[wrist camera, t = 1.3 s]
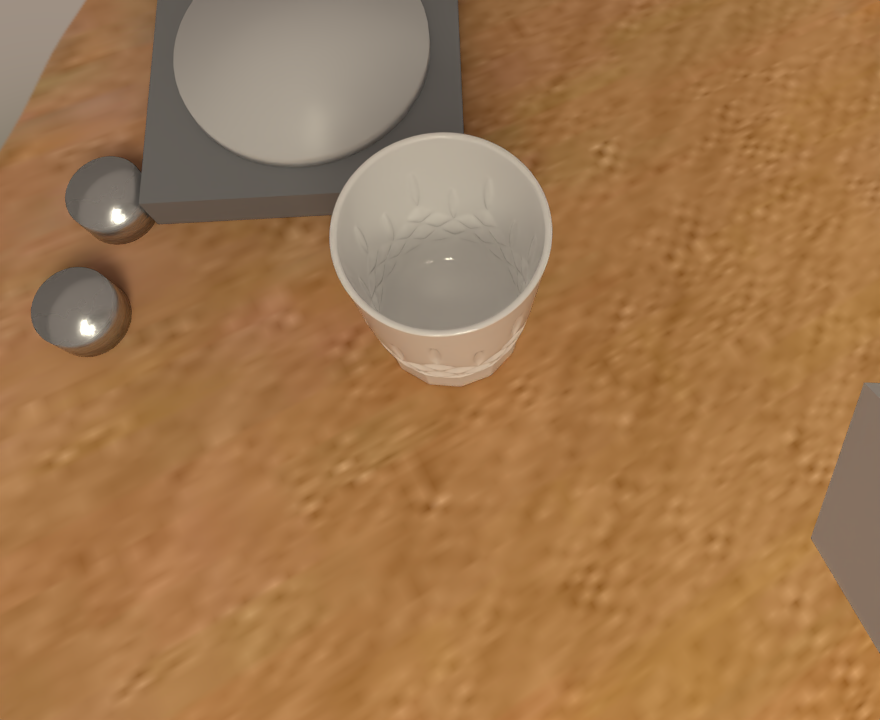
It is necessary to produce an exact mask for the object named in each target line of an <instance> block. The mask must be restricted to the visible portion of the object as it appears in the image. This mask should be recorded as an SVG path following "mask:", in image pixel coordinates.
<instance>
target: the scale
mask: <svg viewBox="0 0 880 720" xmlns="http://www.w3.org/2000/svg"><path fill="white" fill-rule="evenodd" d="M436 132H451V133H461V134H464V128H463V106H462V84H461V61H460V39H459V17H458V0H157V11H156V22H155V32H154V43H153V54H152V65H151V76H150V87H149V98H148V108H147V119H146V130H145V141H144V152H143V163H142V173H141V184H140V195H139V205H140V206H141V207H142V208H143V209H144V210H145V211H146V212H147V213H148V214H149V215H150V216H151V217H152V218H153V219H154V220H155V221H156V223H157V224H172V223H191V222H209V221H228V220H246V219H265V218H283V217H302V216H320V215H332V214H333V210H334V207H335V204H336V201H337V199H338V197H339V195H340V193H341V191H342V189H343V187H344V186H345V184H346V183H347V181H348V180H349V178H350V177H351V176H352V174H353V173H354V172H355V171H356V170H357V169H358V168H359V167H360V166H361V165H362V164H363V163H364V162H365V161H366V160H367V159H369V158H370V157H371V156H372V155H374V154H375V153H377V152H378V151H380V150H381V149H383V148H385V147H387V146H389V145H391V144H393V143H395V142H397V141H400V140H403V139H405V138H409V137H412V136H416V135H421V134H427V133H436Z"/></svg>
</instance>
